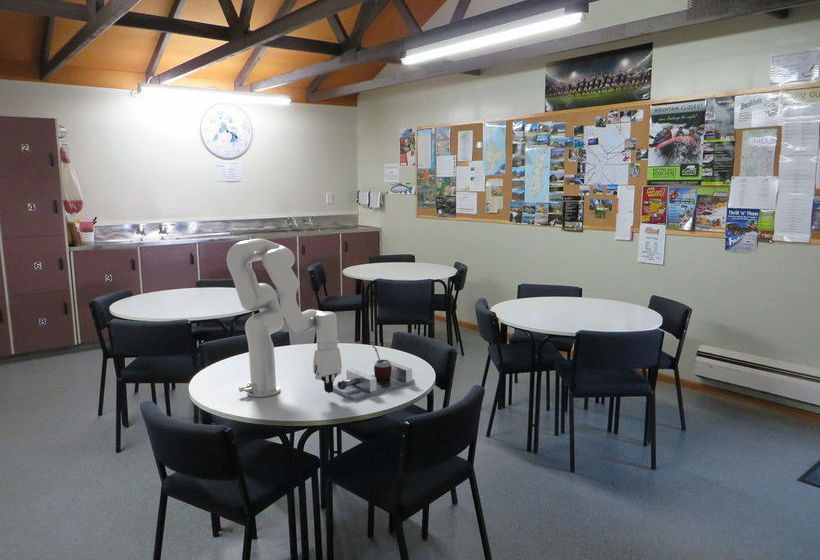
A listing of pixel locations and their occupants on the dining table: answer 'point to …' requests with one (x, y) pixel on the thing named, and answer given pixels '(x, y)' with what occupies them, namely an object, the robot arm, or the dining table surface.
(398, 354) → the dining table surface
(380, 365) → the mate gourd
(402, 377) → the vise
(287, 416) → the dining table surface
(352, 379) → the vise jaw
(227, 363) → the dining table surface
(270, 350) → the robot arm
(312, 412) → the dining table surface
